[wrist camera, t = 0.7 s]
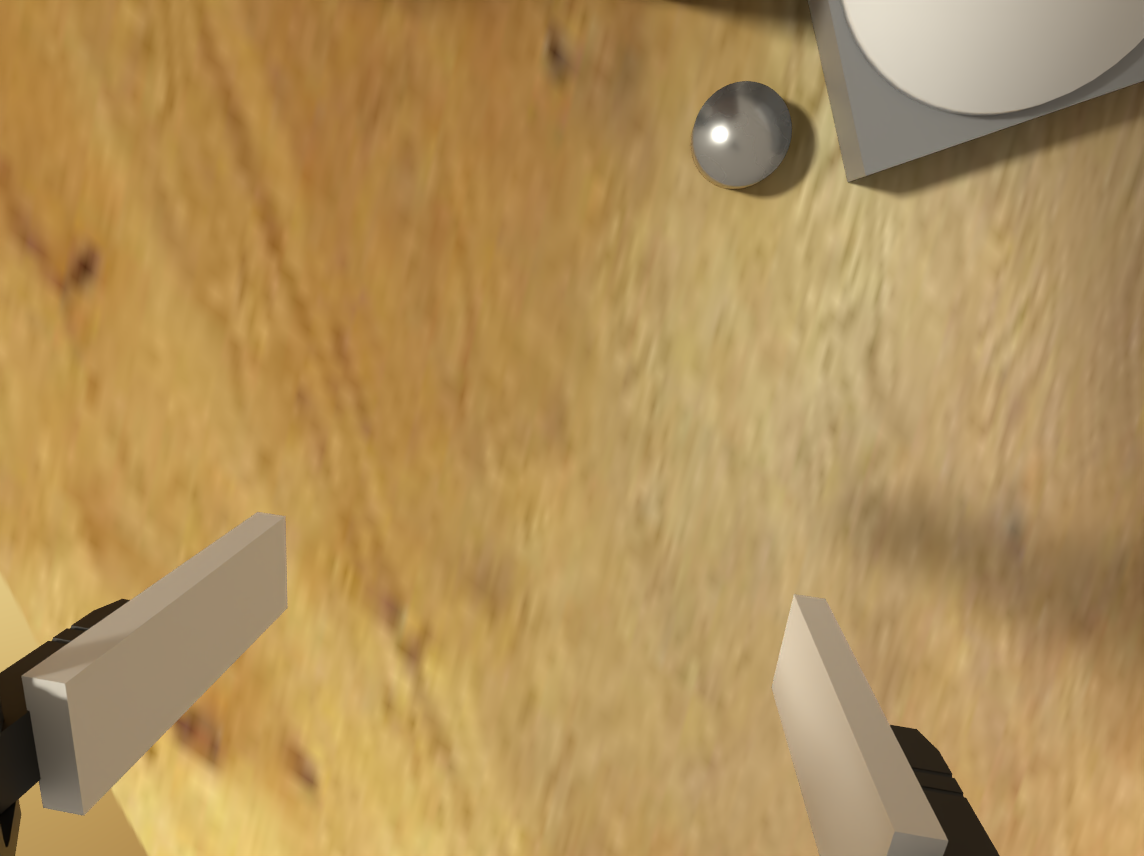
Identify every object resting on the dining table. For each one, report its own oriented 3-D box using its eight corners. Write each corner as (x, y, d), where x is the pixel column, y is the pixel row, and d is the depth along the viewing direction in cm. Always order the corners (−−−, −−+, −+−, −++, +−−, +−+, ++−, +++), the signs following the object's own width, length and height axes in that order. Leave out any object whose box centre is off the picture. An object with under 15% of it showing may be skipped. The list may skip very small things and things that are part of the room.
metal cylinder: (679, 111, 35) (681, 102, 33) (771, 76, 34) (778, 65, 32) (704, 202, 36) (707, 199, 34) (793, 171, 35) (802, 166, 33)
